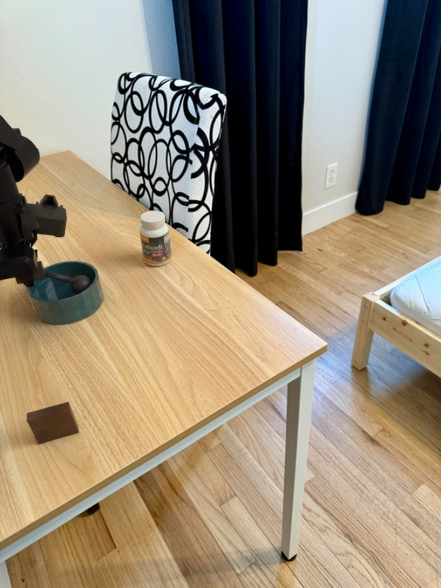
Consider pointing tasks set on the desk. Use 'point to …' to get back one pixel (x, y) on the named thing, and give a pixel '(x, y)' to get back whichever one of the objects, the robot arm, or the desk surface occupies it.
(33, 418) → the chocolate brown square
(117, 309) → the desk surface
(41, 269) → the ladle
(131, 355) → the desk surface
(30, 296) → the bowl
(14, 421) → the desk surface
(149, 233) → the pill bottle
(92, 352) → the desk surface
